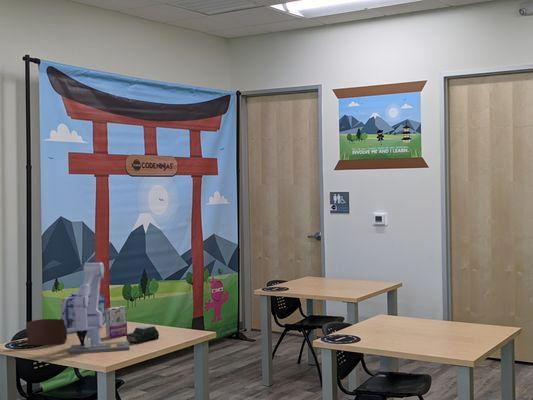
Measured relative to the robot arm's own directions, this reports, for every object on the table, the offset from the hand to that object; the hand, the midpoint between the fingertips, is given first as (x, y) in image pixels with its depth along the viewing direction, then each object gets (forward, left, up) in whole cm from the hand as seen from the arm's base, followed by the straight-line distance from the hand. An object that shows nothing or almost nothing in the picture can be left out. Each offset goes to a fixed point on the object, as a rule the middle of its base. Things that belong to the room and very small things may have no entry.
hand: (82, 345), depth 368 cm
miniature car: (-16, +31, -3) cm, 35 cm away
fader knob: (0, +3, -1) cm, 3 cm away
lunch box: (-61, -3, -3) cm, 61 cm away
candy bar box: (-33, +17, -3) cm, 37 cm away
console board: (-2, +9, -3) cm, 9 cm away
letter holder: (-27, -20, -3) cm, 34 cm away
